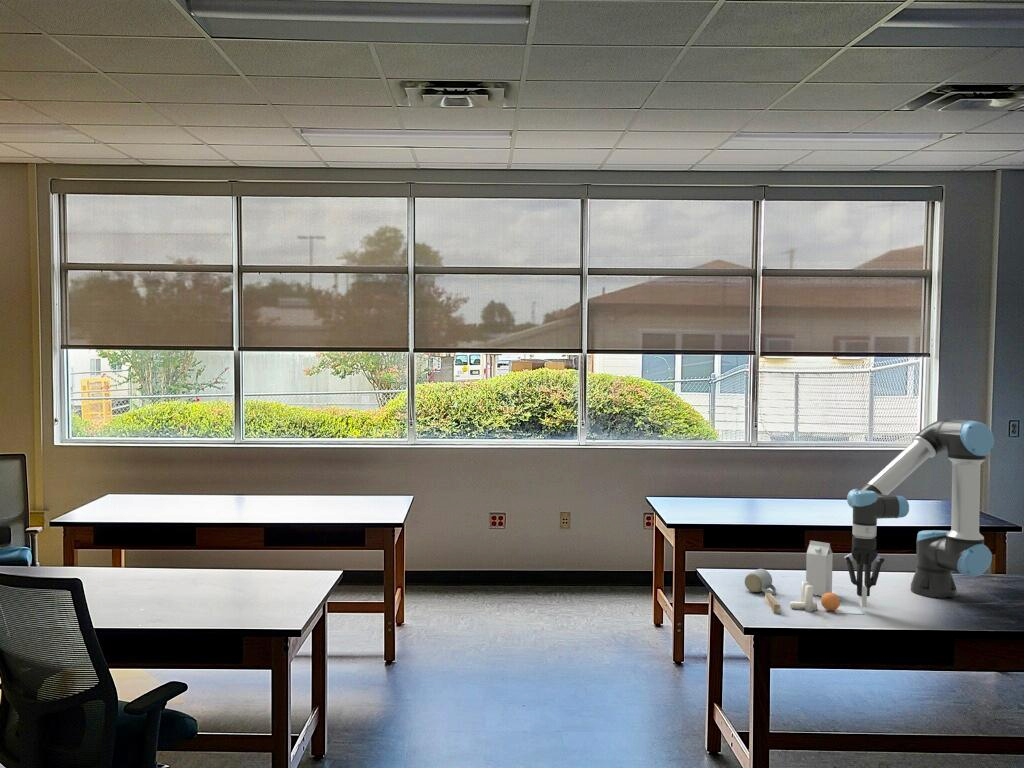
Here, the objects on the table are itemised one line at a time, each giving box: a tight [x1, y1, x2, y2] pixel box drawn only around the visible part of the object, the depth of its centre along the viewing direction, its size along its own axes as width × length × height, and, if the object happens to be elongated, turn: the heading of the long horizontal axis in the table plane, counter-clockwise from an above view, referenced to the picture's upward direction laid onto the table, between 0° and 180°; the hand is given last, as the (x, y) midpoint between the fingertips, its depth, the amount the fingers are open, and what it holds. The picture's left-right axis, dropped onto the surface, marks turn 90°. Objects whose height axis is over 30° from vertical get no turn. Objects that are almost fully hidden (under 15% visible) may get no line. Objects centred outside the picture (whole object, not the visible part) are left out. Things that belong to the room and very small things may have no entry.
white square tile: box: [833, 605, 864, 615], centre depth 270 cm, size 9×8×1 cm
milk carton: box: [805, 540, 834, 597], centre depth 290 cm, size 7×7×19 cm
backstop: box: [764, 593, 781, 615], centre depth 272 cm, size 2×14×3 cm, turn 174°
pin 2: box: [804, 585, 814, 613], centre depth 269 cm, size 2×2×8 cm
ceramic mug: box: [744, 568, 777, 595], centre depth 292 cm, size 11×8×8 cm
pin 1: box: [800, 580, 809, 602], centre depth 274 cm, size 2×2×8 cm
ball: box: [820, 592, 841, 612], centre depth 270 cm, size 6×6×6 cm
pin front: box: [789, 601, 818, 611], centre depth 271 cm, size 2×2×8 cm
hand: (863, 605), depth 269 cm, fingers closed
